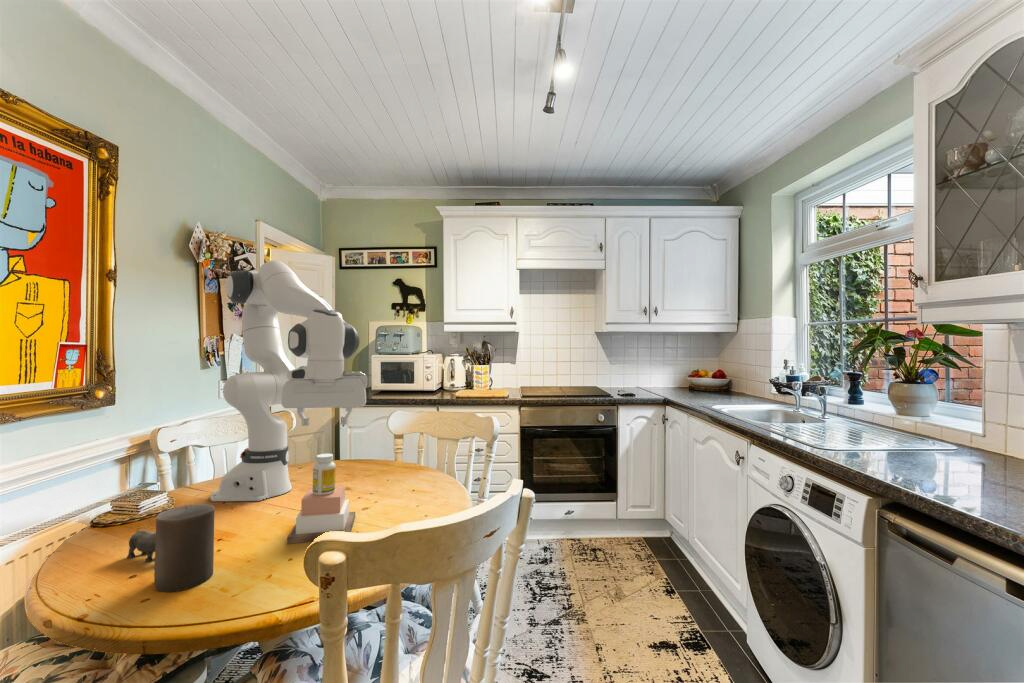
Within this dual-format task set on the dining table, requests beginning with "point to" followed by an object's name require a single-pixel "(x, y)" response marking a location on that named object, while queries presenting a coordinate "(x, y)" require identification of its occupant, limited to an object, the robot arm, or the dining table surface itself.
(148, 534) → the rhino figurine
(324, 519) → the pink white stepped block
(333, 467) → the supplement bottle
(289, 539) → the baseplate
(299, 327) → the robot arm
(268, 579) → the dining table surface
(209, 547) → the pillar candle
